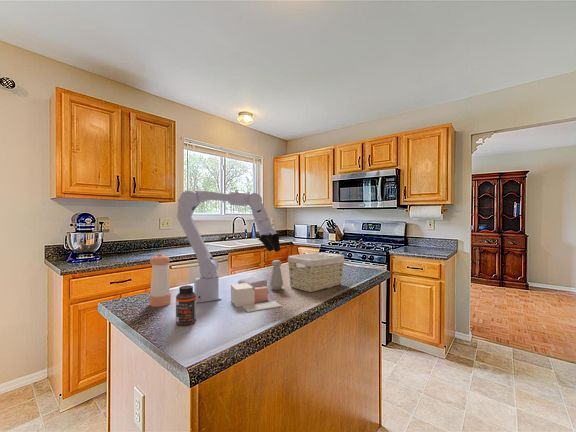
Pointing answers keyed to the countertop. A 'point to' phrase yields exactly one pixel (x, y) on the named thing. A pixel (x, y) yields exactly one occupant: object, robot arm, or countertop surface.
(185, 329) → the countertop surface
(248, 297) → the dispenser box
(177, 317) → the supplement bottle
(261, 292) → the pink rectangular block
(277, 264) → the salt shaker
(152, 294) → the salt shaker
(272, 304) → the mat
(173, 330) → the countertop surface
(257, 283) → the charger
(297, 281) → the storage basket
